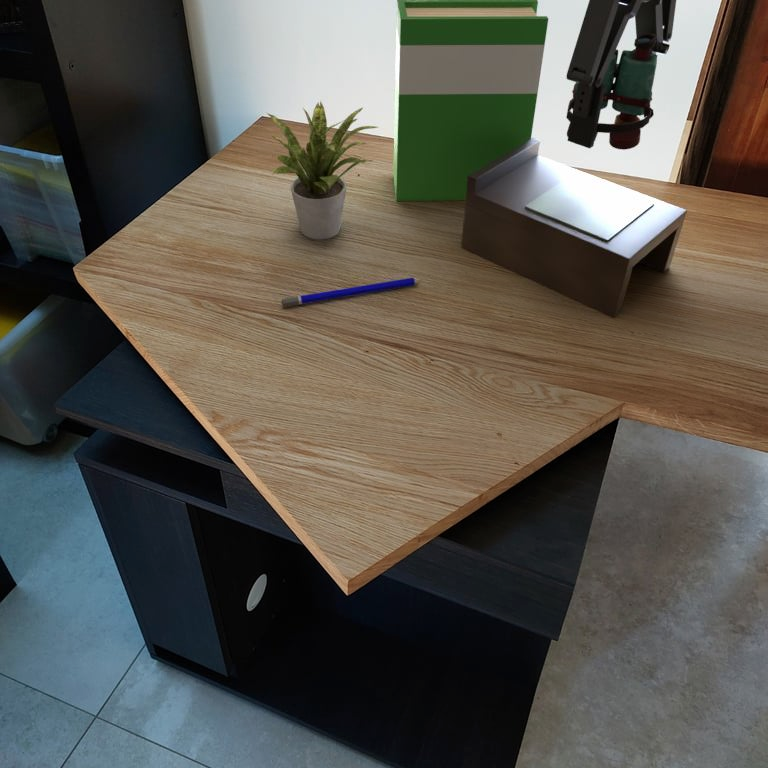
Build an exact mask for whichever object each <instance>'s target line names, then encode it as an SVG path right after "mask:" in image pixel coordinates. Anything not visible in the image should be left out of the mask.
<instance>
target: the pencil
mask: <svg viewBox="0 0 768 768" xmlns="http://www.w3.org/2000/svg"><path fill="white" fill-rule="evenodd" d="M421 281H422V279H419V278H416V277H407V278H400V279H394V280H389V281H383V282H376V283H371V284H364V285H358V286H353V287H346V288H345V287H344V288H340V289H334V290H327V291H321V292H316V293H310V294H304V295H303V294H302V295H297V296H291V297H285V298H282V299H281V305H282V307H285V308H287V307H291V306H297V305H303V304H309V303H315V302H322V301H327V300H335V299H340V298H345V297H346V298H347V297H353V296H358V295H363V294H369V293H376V292H381V291H388V290H393V289H401V288H406V287H412V286H415V285H416V284H418V283H419V282H421Z"/></svg>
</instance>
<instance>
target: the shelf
mask: <svg viewBox="0 0 768 768" xmlns="http://www.w3.org/2000/svg"><path fill="white" fill-rule="evenodd" d="M540 144H541V140H540V139H537V138H535V137H531V139H530V140H528V141H526V142H525V143H523V144H521V145H520V146H518V147H516V148H514V149H513V150H511V151H509V152H508V153H506V154H504V155H502V156H501V157H499V158H497V159H496V160H494V161H492V162H490V163H489V164H487V165H485V166H484V167H482V168H480V169H478V170H477V171H475V172H473V173H472V174H470V175H468V178H467V189H466V200H464V202H465V203H464V211H463V212H464V214H463V223H462V236H461V246H460V247H461V248H463V249H465V250H466V251H469V252H470V253H473V254H475V255H477V256H480V257H481V258H484V259H486V260H488V261H491V262H493V263H495V264H496V265H499V266H501V267H503V268H505V269H507V270H509V271H512V272H514V273H516V274H519V275H520V276H523V277H524V278H527V279H530V280H531V281H534V282H536V283H538V284H540V285H542V286H544V287H546V288H548V289H550V290H553V291H555V292H557V293H559V294H561V295H564V296H565V297H568V298H570V299H572V300H574V301H577V302H579V303H580V304H583V305H585V306H587V307H589V308H591V309H594V310H596V311H598V312H600V313H602V314H605V315H606V316H609V317H612V318H613V319H614V318H615V317H616V316H618V315H619V314H620V313H621V311H622V307H623V304H624V300H625V297H626V294H627V289H628V286H629V283H630V278H631V275H632V271H633V268H634V266H636V265H637V264H638V263H640V264H642V265H644V266H648V267H650V268H652V269H655V270H657V271H660V272H662V273H664V272H666V271H668V269H669V268H670V267H671V264H672V261H673V258H674V253H675V251H676V248H677V244H678V242H679V238H680V235H681V232H682V229H683V225H684V221H685V219H686V215H687V212H688V209H686V208H685V209H684V208H682V207H679V206H676V205H674V204H671V203H669V202H666V201H663V200H660V199H657V198H656V197H652V196H649V195H647V194H644V193H641V192H639V191H636V190H633V189H630V188H628V187H625V186H622V185H619V184H617V183H615V182H612V181H609V180H607V179H603V178H601V177H598V176H595V175H593V174H591V173H587V172H584V171H582V170H579V169H577V168H574V167H571V166H568V165H566V164H564V163H560V162H559V161H555V160H552V159H550V158H547V157H545V156H542V155H539V152H540Z"/></svg>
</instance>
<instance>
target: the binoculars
mask: <svg viewBox="0 0 768 768" xmlns="http://www.w3.org/2000/svg"><path fill="white" fill-rule="evenodd" d="M656 38H657V35H655V34H644V35H641V36H639V37H637V38H635V39H634V43H633V45H634V47H635V48H634V49H635V51H632V50H627V49H623V50H622V52H621V55H620V57H619V49H617V48H616V50H615V53H614V55H613V57H612V60H611V62H610V64H609V67H608V69H607V71H606V73H605V76H604V78H603V80H602V84H605V85H606V87H605V92H604V97H603V102H602V106H601V110H604V109H606V108H607V107H608V104H609V101H612V103H611V108H612V109H613V110H614V111H616V112H619V114H617V115H616V116H615V120H614V123H604V122H598V126H597V131H596V136H595V140H596V139H597V136H598V133H600V134H603V133H604V134H609V136H608V138H609V139H608V140H609V141H608V143H609V145H610V146H611V147H612V148H613V149H617V150H624V151H625V150H630V149H633V148H635V147H637V146H638V145H639V144H640V142H641V134H642V133H641V132H642V131H641V129H643V128H644V127H646V125H649V123H650V120H651V119H652V118H653V117H654V114H655V113H654V109H653V108H652V107H651V103H652V101H653V86H654V82H655V81H654V80H655V76H656V70H657V64H658V57H657V58H656V56H654V55H652V54H650V53H651V49H652V48H654V46H655V42H656ZM618 57H619V58H618ZM618 59H619V62H618ZM577 85H578V83H577V82H574V85H573V88H572V89H573V90H572V91H571V92H572V98H571V99H570V100H569V102H568V106H567V112H566V116H565V118H566V119H567V121H568V122H569V125H568V128H567V131H566V136H567V138H568V135H569V129H570V124H571V118H572V113H573V111H571V110H573V107H574V102H575V96H576V91H577ZM638 115H641V116H643V118H642V119H641V118H640V116H638Z"/></svg>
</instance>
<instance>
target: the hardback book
mask: <svg viewBox="0 0 768 768" xmlns="http://www.w3.org/2000/svg"><path fill="white" fill-rule="evenodd" d="M538 5H539V1H538V0H396V27H395V28H396V31H395V33H396V34H395V79H394V81H395V83H394V122H393V123H394V126H393V128H394V130H393V170H392V171H393V174H392V176H393V185H394V194H395V195H394V196H395V201H396V202H432V201H433V202H436V201H437V202H438V201H439V202H440V201H443V202H444V201H466V189H467V178H468V175H470V174H472V173H473V172H475V171H477V170H478V169H480V168H482V167H484V166H485V165H487V164H489V163H490V162H492V161H494V160H496V159H497V158H499V157H501V156H502V155H504V154H506V153H508V152H509V151H511V150H513V149H514V148H516V147H518V146H520V145H521V144H523V143H525V142H526V141H528V140H530V139H532V133H533V128H534V121H535V112H536V106H537V101H538V94H539V87H540V79H541V72H542V67H543V59H544V51H545V45H546V40H547V39H546V38H547V33H548V32H547V31H548V24H549V17H548V16H547V15H537V13H538V7H539V6H538Z"/></svg>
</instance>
